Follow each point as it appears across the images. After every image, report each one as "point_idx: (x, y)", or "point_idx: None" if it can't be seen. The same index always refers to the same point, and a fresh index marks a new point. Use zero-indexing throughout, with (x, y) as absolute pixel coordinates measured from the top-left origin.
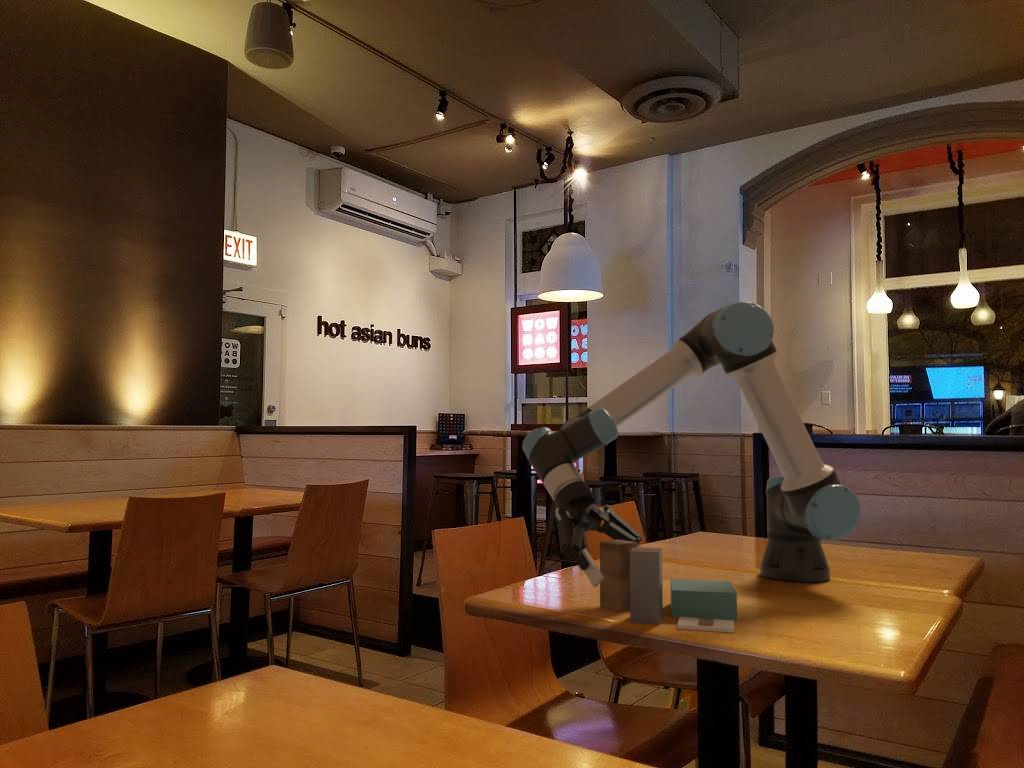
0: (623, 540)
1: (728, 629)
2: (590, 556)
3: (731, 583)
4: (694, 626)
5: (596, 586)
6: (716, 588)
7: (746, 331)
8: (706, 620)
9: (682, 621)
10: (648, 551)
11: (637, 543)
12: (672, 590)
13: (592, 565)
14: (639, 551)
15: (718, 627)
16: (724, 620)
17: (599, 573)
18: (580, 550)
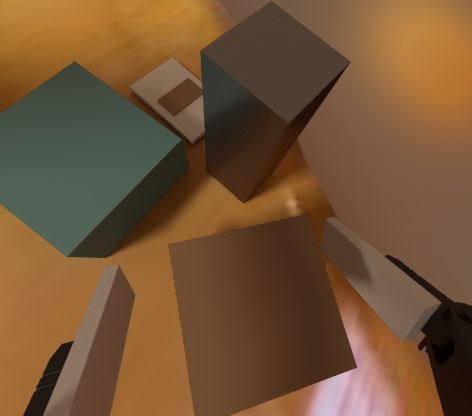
0: (192, 362)
1: (178, 63)
2: (389, 271)
3: None
4: None
5: (320, 247)
6: (71, 108)
7: None
8: (176, 98)
9: None
10: (293, 29)
11: (173, 243)
12: (181, 139)
13: (369, 246)
14: (322, 43)
15: (186, 72)
16: (143, 92)
17: (341, 226)
18: (441, 313)
